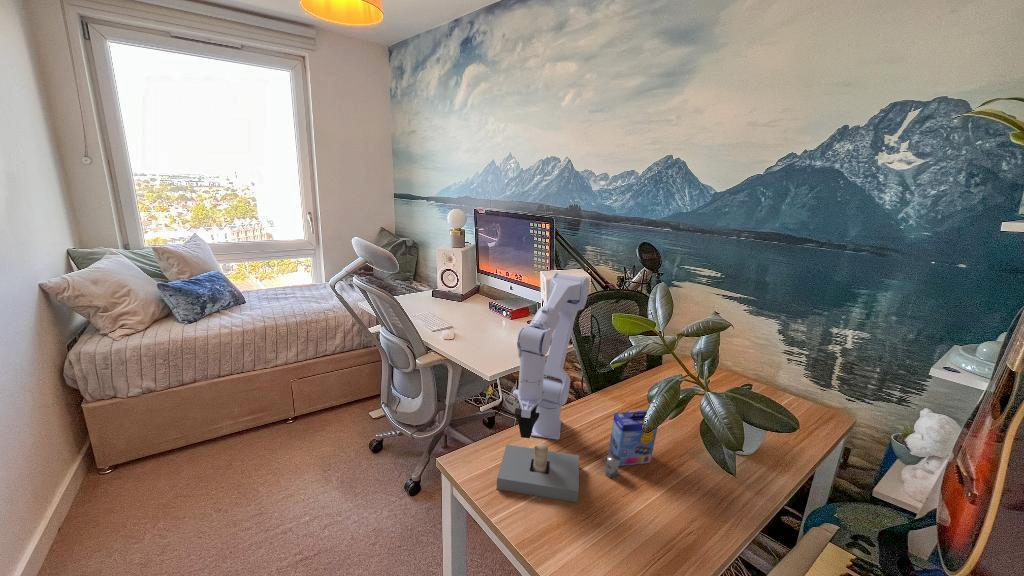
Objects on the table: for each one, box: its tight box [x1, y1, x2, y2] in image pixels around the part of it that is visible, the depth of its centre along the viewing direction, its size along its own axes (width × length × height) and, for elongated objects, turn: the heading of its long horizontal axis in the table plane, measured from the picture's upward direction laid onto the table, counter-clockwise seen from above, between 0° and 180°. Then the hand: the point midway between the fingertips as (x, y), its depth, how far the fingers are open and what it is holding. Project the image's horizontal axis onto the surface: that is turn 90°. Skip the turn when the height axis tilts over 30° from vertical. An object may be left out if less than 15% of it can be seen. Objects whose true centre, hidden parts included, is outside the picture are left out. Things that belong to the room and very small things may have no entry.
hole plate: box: [496, 444, 580, 504], centre depth 96 cm, size 12×18×3 cm, turn 81°
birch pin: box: [532, 443, 549, 474], centre depth 96 cm, size 3×3×8 cm
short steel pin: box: [604, 453, 620, 480], centre depth 98 cm, size 3×3×4 cm
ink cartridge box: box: [608, 409, 659, 467], centre depth 103 cm, size 10×6×14 cm, turn 103°
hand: (527, 427), depth 100 cm, fingers open, 7 cm apart
